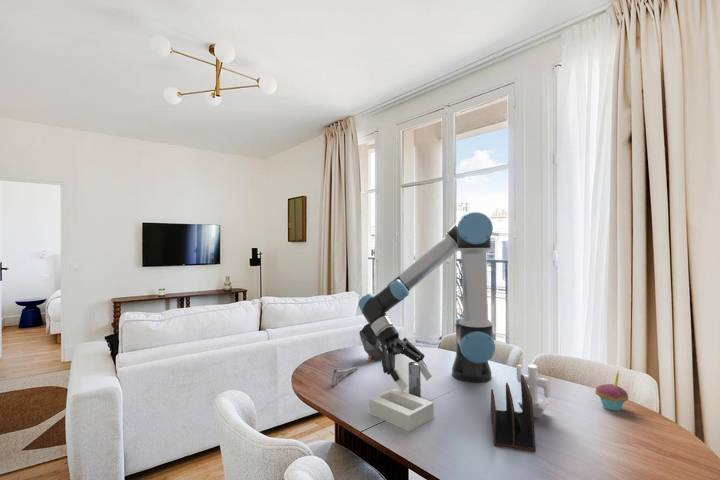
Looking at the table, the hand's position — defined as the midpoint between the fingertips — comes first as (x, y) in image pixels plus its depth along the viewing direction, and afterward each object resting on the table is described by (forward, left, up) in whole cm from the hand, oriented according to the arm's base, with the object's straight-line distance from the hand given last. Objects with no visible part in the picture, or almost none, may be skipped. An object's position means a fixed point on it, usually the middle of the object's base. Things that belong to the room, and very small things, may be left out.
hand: (417, 383), depth 122 cm
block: (+4, +12, -6) cm, 14 cm away
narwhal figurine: (+23, -40, -6) cm, 47 cm away
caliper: (+30, -15, -6) cm, 34 cm away
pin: (+1, -1, -6) cm, 6 cm away
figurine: (-36, +2, -6) cm, 36 cm away
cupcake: (-61, -8, -6) cm, 62 cm away
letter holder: (-27, +14, -6) cm, 31 cm away
